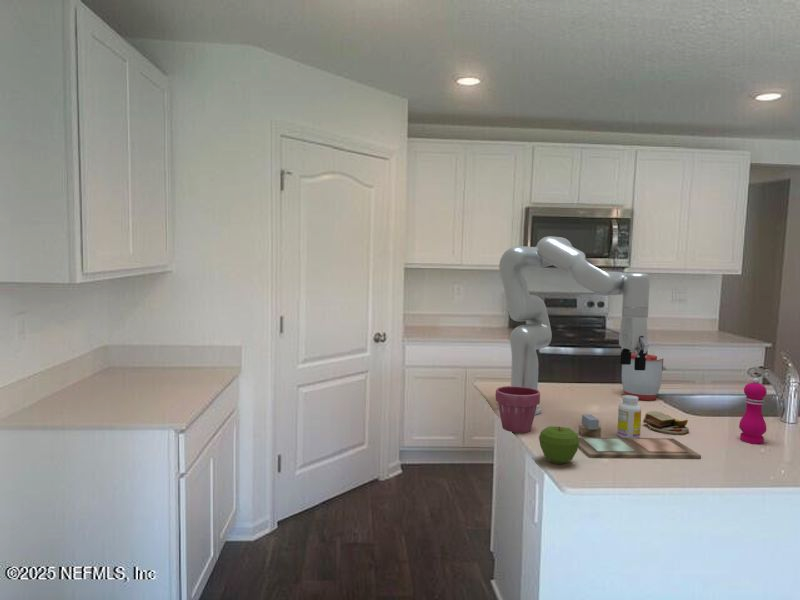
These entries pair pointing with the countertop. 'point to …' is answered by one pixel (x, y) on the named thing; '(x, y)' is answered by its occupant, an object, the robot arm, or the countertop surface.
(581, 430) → the brick walnut
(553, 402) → the countertop surface
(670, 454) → the tile board
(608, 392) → the countertop surface
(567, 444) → the apple
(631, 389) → the citrus juicer
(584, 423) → the brick grey
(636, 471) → the countertop surface
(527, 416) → the plant pot
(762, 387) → the pepper mill
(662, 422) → the toy sandwich meal
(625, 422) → the supplement bottle
